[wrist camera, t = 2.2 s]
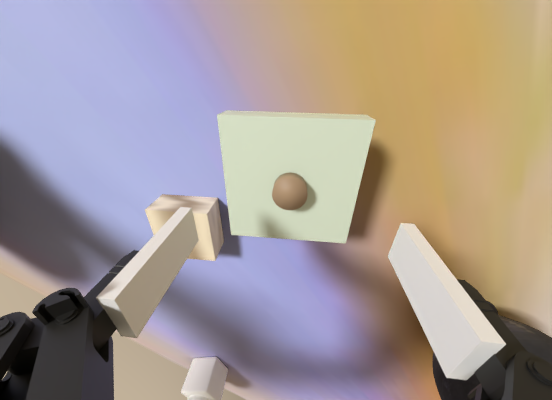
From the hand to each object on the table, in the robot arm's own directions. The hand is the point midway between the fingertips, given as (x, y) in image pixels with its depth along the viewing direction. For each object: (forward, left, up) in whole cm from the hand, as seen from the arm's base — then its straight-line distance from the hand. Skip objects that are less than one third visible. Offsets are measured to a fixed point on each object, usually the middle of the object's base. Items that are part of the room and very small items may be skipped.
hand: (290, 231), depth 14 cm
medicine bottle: (-19, -57, -14) cm, 62 cm away
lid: (0, 0, -9) cm, 9 cm away
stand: (-14, -10, -14) cm, 22 cm away
